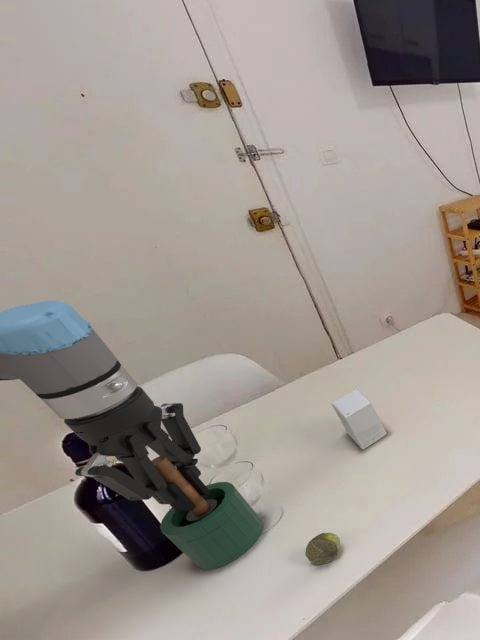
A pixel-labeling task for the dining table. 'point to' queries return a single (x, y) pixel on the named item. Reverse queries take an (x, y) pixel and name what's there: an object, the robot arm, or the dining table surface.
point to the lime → (323, 548)
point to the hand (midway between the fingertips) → (193, 501)
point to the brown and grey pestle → (185, 489)
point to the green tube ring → (215, 529)
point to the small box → (359, 418)
